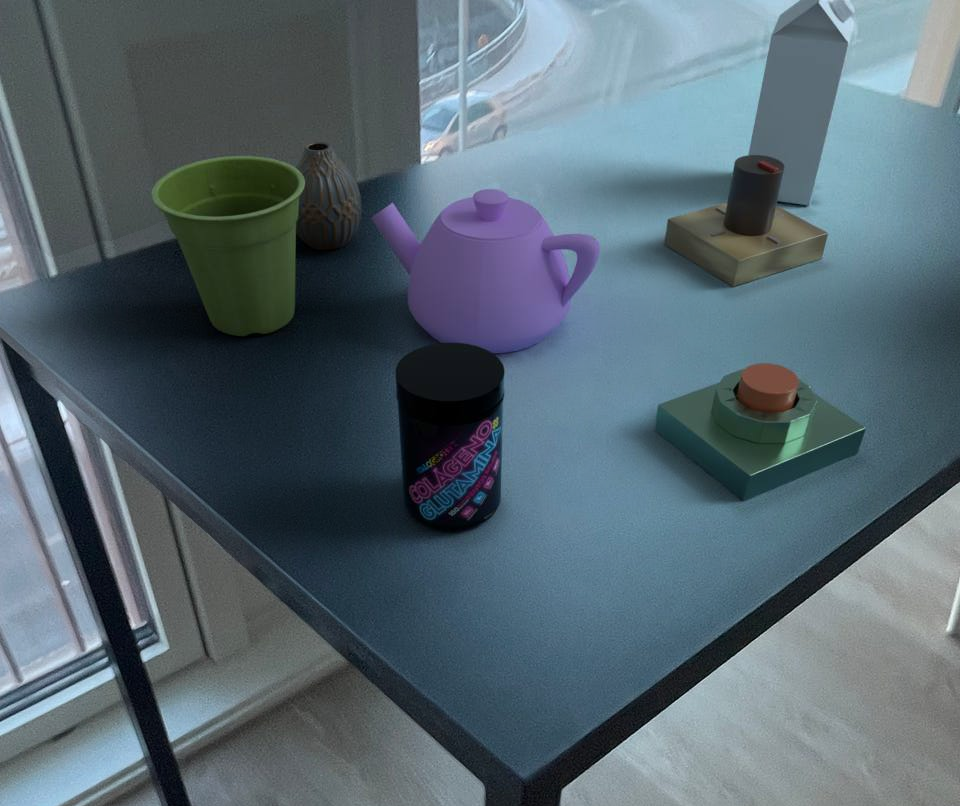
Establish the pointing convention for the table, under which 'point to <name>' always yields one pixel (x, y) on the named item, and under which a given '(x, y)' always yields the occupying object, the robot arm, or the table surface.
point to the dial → (753, 194)
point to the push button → (767, 388)
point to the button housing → (757, 436)
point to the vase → (327, 199)
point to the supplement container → (451, 434)
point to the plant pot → (237, 237)
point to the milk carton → (802, 91)
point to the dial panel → (744, 244)
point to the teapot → (488, 271)
